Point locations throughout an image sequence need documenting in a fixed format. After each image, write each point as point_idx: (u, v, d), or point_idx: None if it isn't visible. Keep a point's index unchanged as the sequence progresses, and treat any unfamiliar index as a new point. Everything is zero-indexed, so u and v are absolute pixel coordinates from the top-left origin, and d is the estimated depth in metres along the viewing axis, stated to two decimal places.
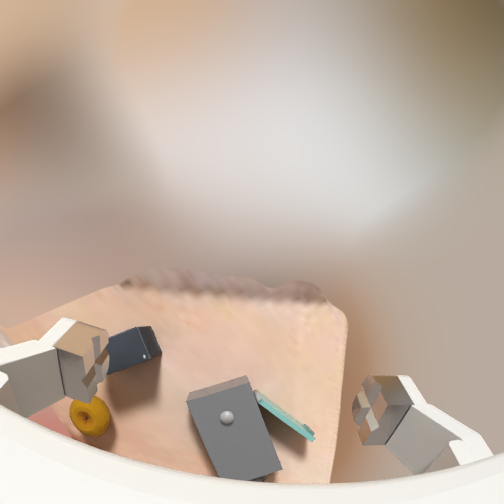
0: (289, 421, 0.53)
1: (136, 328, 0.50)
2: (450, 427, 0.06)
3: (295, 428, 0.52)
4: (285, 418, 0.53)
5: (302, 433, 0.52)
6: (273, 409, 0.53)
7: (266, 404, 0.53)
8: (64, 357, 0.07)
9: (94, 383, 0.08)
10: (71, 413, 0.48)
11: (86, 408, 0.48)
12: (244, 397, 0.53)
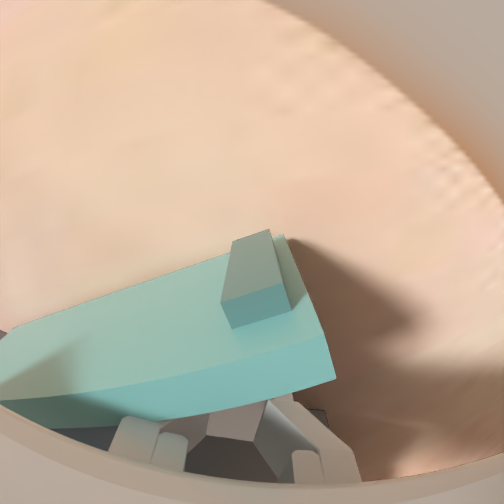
0: (34, 406, 0.05)
1: None
2: (309, 433, 0.06)
3: (99, 416, 0.05)
4: (12, 407, 0.06)
5: (174, 406, 0.05)
6: None
7: None
8: None
9: None
10: None
11: None
12: None
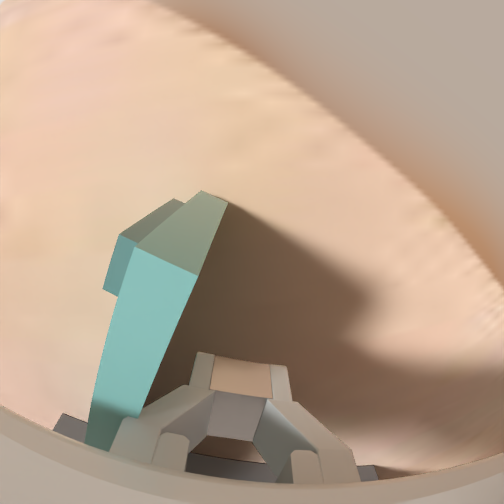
0: None
1: None
2: (308, 433, 0.06)
3: None
4: None
5: (128, 398, 0.05)
6: None
7: None
8: (218, 397, 0.07)
9: None
10: None
11: None
12: None
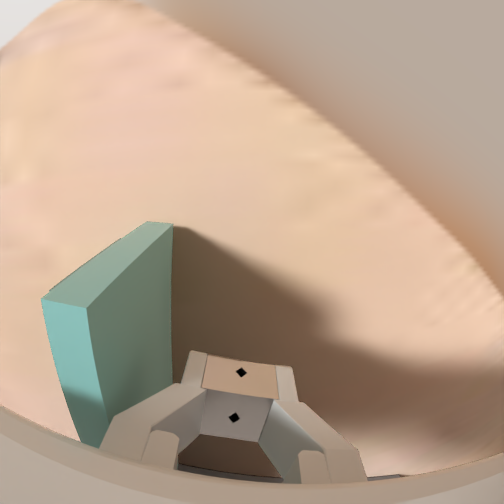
0: None
1: None
2: (315, 433, 0.06)
3: None
4: None
5: (96, 422, 0.06)
6: None
7: None
8: (210, 396, 0.07)
9: (232, 415, 0.08)
10: None
11: None
12: None
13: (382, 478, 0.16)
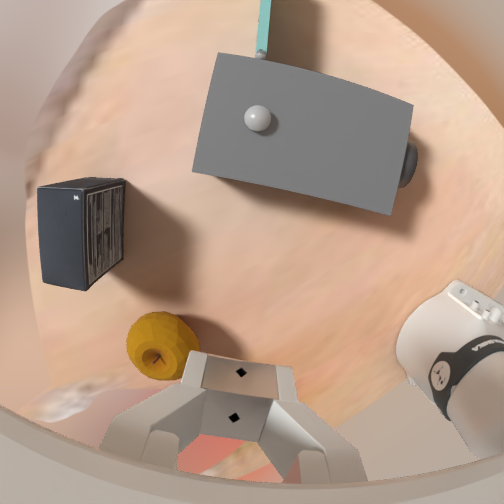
0: None
1: (38, 189, 0.26)
2: (315, 433, 0.06)
3: None
4: (263, 2, 0.24)
5: None
6: (261, 25, 0.25)
7: (260, 40, 0.25)
8: (210, 396, 0.07)
9: (232, 416, 0.08)
10: (143, 373, 0.34)
11: (139, 346, 0.33)
12: (239, 71, 0.26)
13: None
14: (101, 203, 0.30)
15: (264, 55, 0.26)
